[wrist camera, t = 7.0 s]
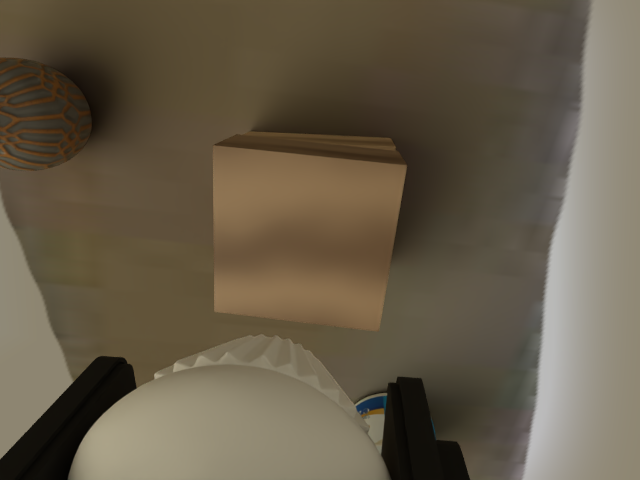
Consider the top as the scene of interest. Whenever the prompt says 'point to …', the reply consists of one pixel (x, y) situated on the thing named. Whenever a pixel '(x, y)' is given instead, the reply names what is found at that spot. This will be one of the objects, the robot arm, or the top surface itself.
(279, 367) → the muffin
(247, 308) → the tower top
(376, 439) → the beverage bottle
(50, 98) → the vase
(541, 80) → the top surface
